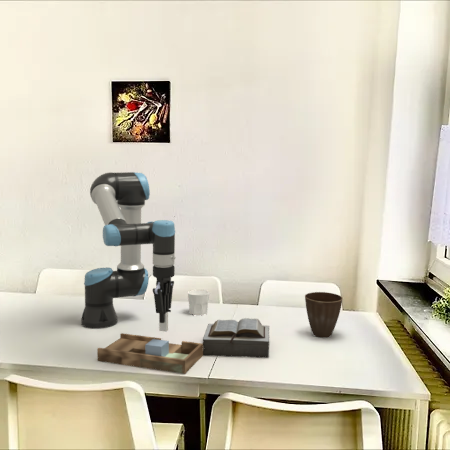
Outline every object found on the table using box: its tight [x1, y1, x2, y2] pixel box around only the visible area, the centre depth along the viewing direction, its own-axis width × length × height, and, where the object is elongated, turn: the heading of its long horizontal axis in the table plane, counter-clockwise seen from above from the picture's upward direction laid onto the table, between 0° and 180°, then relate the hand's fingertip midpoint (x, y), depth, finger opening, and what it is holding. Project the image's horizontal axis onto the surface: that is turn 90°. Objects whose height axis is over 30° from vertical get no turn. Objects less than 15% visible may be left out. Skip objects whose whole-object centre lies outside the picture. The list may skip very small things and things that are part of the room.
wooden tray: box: [96, 332, 204, 375], centre depth 181 cm, size 33×17×4 cm, turn 72°
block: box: [145, 339, 170, 357], centre depth 176 cm, size 6×6×4 cm
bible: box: [202, 317, 270, 358], centre depth 193 cm, size 23×27×10 cm
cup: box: [187, 289, 211, 317], centre depth 235 cm, size 10×10×10 cm
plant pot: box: [304, 291, 344, 339], centre depth 207 cm, size 15×15×16 cm
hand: (163, 330), depth 181 cm, fingers closed
